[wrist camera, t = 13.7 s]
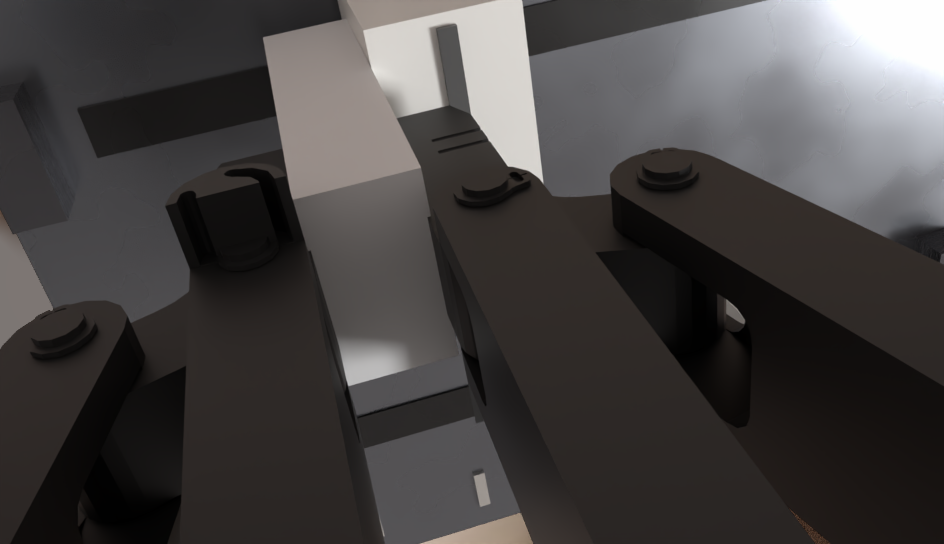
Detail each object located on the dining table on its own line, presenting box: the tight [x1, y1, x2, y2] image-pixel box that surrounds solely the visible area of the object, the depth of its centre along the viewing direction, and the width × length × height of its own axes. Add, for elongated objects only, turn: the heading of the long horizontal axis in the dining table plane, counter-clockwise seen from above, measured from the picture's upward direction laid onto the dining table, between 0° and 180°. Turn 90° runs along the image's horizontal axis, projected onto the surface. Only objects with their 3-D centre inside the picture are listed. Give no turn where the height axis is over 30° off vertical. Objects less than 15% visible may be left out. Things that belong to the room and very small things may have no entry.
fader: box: [338, 0, 543, 183], centre depth 15 cm, size 2×4×4 cm, turn 9°
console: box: [0, 0, 944, 544], centre depth 21 cm, size 22×18×3 cm
